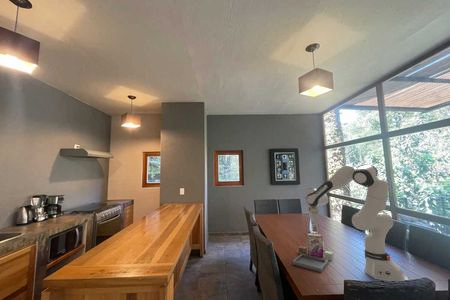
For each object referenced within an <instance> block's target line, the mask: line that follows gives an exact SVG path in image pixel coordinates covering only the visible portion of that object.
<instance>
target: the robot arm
mask: <svg viewBox="0 0 450 300" xmlns="http://www.w3.org/2000/svg"><path fill="white" fill-rule="evenodd" d="M378 173H379V172H378V169H377V168H376V167H375V166H374V165H372V164H362V165H359V166H356V167H354V166H353V165H351V164H345V165H343V166H342V167H340V168H339V169H338V170H337V171H336V172H335V173H334V174H333V175H331V177H330V178H329V179H327V180H326V181H325V182H324V183H322V185H320V186H319V187H318V188H314V187H313V188H308V189H306V190H305V200H306V210H307V211H308V217H309V219H310V221H311V225H313V227H315V228H316V227H317V223H318V222H319V206H325V205H327V204H329V196H328V193H329V192H332V191H337V190H341V189H344V188H345V187H347V185H349V184H350V183H351V182H352V181H354V182H355V184H358V185H360V186H363V187H365V188H367V190H366V195H365V201H364V204H363V205H362V207H361V208H360V209H359V211H358V212H356V213H354V214H353V215H352V217H351V223H352V226H353V227H355V229H358V230H362V231H369V233H367V234H366V235H365V236H364V239H363V240H364V251H363V252H364V258H365V267H364V273H366V274H367V275H369V276H371V277H372V278H373V279H375V280H379V281H384V282H389V281H403V280H409V277H408V275H406V274H404V272H403V270H402V267H401V266H400V265H398V264H397V263H396V262H395V261H393V260H392V259H391V255H390V253H388V252H386V242H385V241H386V237H387V234H388V232H389V230H390V229H392V228H393V226H394V219H393V217H392V216H391V215H390V214H388V213H383V211H385V210H386V206H387V203H388V202H387V201H388V197H389V184H388V182H387V181H386V180H384V179H382V178H378Z"/></svg>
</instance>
